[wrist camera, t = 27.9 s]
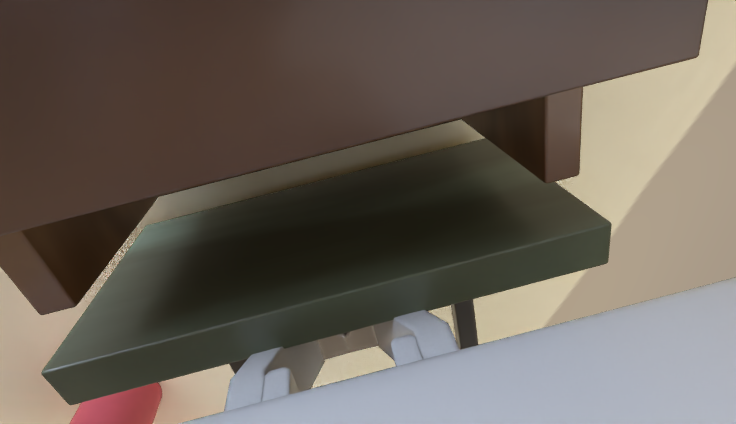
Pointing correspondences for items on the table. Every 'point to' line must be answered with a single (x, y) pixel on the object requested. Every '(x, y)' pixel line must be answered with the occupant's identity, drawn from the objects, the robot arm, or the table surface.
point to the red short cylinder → (121, 407)
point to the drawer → (314, 255)
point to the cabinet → (279, 82)
